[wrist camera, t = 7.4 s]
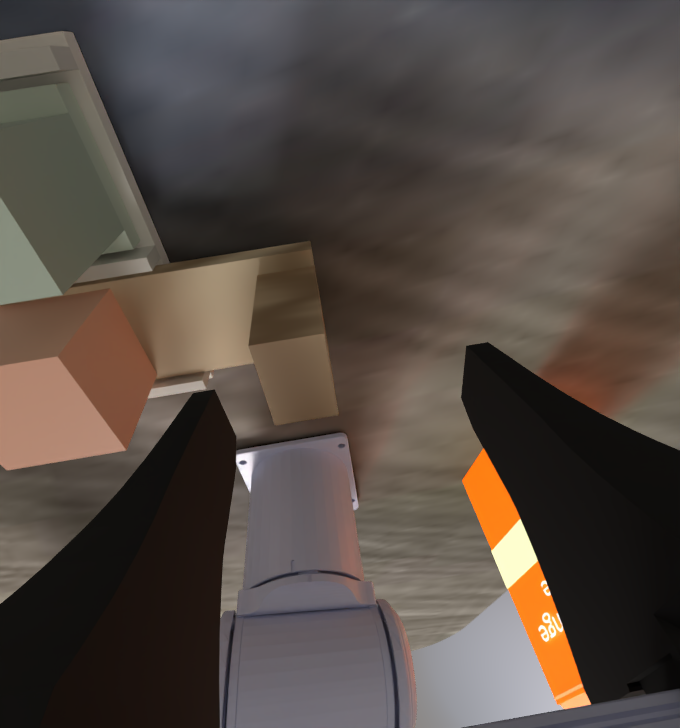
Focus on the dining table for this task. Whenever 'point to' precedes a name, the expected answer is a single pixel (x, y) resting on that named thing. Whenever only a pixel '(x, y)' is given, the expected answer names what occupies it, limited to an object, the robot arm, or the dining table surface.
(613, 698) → the robot arm
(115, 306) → the block
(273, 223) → the dining table surface
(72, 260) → the strip
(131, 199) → the lane board
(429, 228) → the dining table surface
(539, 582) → the orange juice
